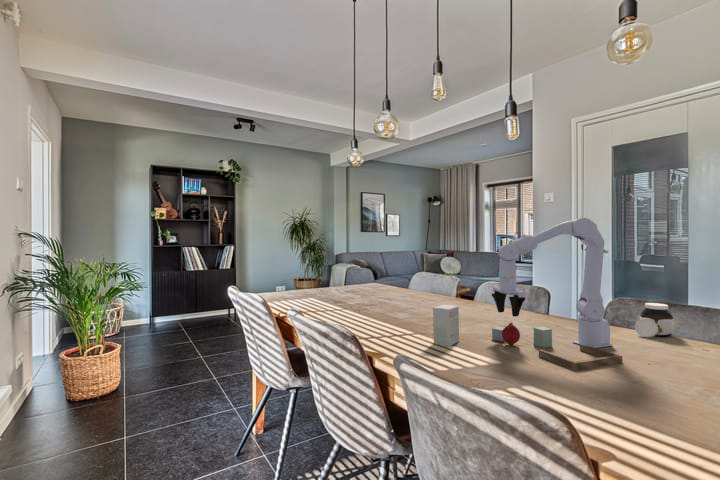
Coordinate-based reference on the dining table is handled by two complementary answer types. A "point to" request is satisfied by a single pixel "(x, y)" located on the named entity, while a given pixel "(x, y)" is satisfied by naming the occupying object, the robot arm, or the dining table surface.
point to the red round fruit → (511, 334)
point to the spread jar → (655, 321)
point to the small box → (446, 324)
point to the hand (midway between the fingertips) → (508, 314)
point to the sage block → (543, 337)
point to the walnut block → (604, 359)
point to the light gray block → (497, 333)
